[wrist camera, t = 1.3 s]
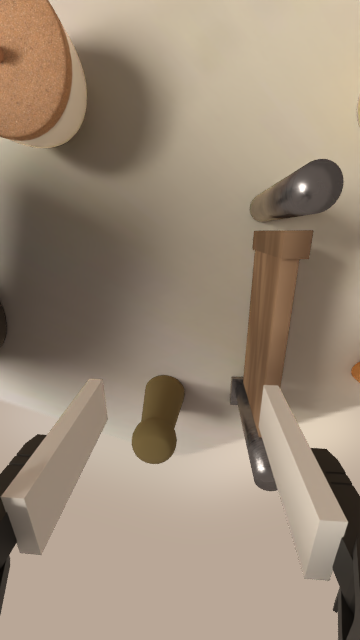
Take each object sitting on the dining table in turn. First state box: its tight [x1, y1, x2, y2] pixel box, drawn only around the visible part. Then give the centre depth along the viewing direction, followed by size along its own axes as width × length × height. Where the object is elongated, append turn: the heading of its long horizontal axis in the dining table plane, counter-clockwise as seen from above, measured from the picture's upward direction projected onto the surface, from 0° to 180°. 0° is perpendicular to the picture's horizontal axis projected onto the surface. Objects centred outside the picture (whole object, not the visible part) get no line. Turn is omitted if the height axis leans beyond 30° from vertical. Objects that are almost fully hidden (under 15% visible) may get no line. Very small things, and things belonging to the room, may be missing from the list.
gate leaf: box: [243, 230, 313, 437], centre depth 27 cm, size 2×20×11 cm, turn 0°
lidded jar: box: [0, 0, 87, 148], centre depth 22 cm, size 11×11×9 cm
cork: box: [132, 375, 185, 464], centre depth 33 cm, size 6×6×11 cm
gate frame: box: [230, 159, 343, 491], centre depth 26 cm, size 4×28×14 cm, turn 0°
